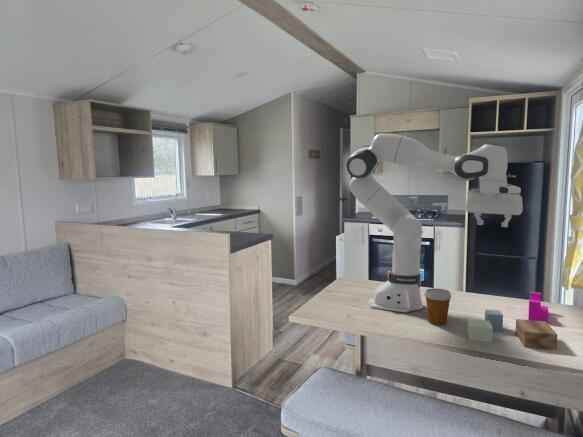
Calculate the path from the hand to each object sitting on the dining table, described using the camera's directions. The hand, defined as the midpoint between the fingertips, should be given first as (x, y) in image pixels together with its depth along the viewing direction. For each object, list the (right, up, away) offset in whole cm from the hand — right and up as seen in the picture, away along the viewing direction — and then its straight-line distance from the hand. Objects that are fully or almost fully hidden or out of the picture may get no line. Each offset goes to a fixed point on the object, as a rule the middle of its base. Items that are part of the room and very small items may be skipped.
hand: (492, 225), depth 148 cm
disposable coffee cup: (-19, -37, +3) cm, 42 cm away
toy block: (+22, -36, +8) cm, 43 cm away
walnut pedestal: (+6, -38, -16) cm, 41 cm away
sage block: (-10, -38, -12) cm, 41 cm away
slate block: (-2, -37, -4) cm, 37 cm away
